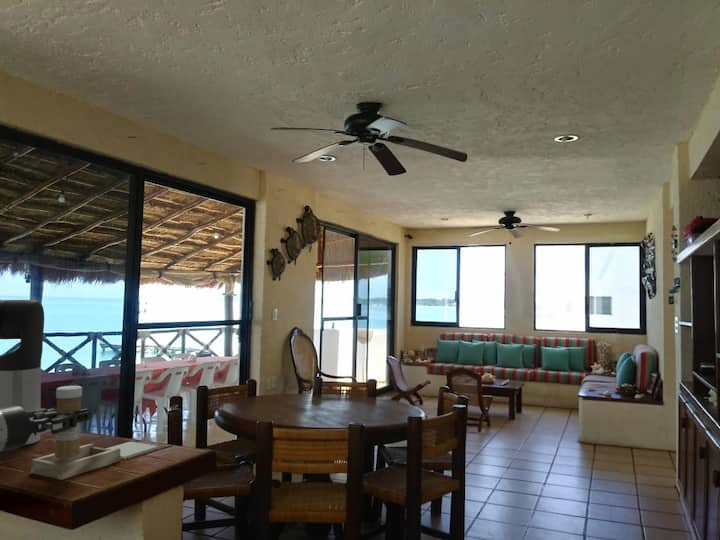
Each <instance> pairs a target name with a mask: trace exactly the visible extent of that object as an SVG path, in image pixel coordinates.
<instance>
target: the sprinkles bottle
mask: <svg viewBox="0 0 720 540" xmlns="http://www.w3.org/2000/svg"><path fill="white" fill-rule="evenodd" d="M55 391H56V393H55V398H56V409H57V411H59V412H61V413H66V412H70V411H72V412H73V411H78V410H82V408H81V407H82V406H81V405H82V404H81V403H82V397H83V396H82V395H83V387H82V386H81V385H64V386H59V387H57V388H56V390H55ZM81 423H82V422H78V423H77V427H75V428H71V429H68V430H66V431H63V432H60V433H57V434H55V435H54V436H55V452H54V453H55V456H56V457H57V458H70V457H74V456H77V455H79V454H80V446H81V426H82V425H81Z"/></svg>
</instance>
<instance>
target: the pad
mask: <svg viewBox="0 0 720 540" xmlns="http://www.w3.org/2000/svg"><path fill="white" fill-rule="evenodd" d="M116 448H119V449H120V460H124V459H125V460H127V458H128V459H130V458H131V459H132V458H135V457H137V456H140V455H143V454H144V455H145V454H146V453H150V452H153V451H157V450H159V445H155V444H147V443H141V442H136V441H128V442H124V443H121V444H117V445H112V446H109V447H107V448H105V449H111V450H113V449H116Z"/></svg>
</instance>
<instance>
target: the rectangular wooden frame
mask: <svg viewBox="0 0 720 540" xmlns="http://www.w3.org/2000/svg"><path fill="white" fill-rule="evenodd" d="M55 453H56V452H54V453H51V454H47V455H44V456H43V455H42V456H40V457H37V458H32V459H31V460H30V461H31V463H30V464H31V465H30V466H31V468H30V472H31V473H32V474H35V475H40V476H44V477H48V478H53V479H57V480H60V481H61V480H65V479H67V478H71V477H74V476H78V475H80V474H83V473H86V472H90V471H93V470H96V469H99V468H103V467H105V466H109V465H113V464H115V462H116V463H119V462H121V459H120V449H119V448H116V449H113V450H111V449H106V448H105V447H98V446H95V444H94V443H88V444H85V445H80V454H79V455H77V456H74V457H70V458H57V457H56V456H55ZM118 461H119V462H118ZM112 463H113V464H112Z"/></svg>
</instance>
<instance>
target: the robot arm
mask: <svg viewBox="0 0 720 540" xmlns="http://www.w3.org/2000/svg"><path fill="white" fill-rule="evenodd" d="M44 329H45V309H44V307H43V304H42V303H41V301H39V300H37V299H0V340H21V341H20V345H19V346H18V347H17V348H16V349H14V350H13V351H10V352H9V353H8V352H7V353H5V354H2V355H0V453H1V452H6V451H9V450H14V449H19V448H22V447H24V446H26V445H31V444H34V443H37V442H39V441H41V435H44V434H45V433H50V434H51V435H56V434H57V433H60V432H63V431H66V430H68V429H71V428H75V427H77V423H78V422H81V423H83V422H87V421H90V419H91V409H89V408H84V409H82V408H81V410H78V411H73V412H72V411H70V412H66V413H61V412H59V411H57V408H49V409H47V408H43V407H41V405H42V403H41V402H42V401H41V398H42V395H41V394H42V393H41V392H42V391H41V389H42V387H41V386H42V382H41V381H42V380H41V379H42V376H41V375H42V357H43V347H44V346H43V344H44V343H43V342H44Z"/></svg>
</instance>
